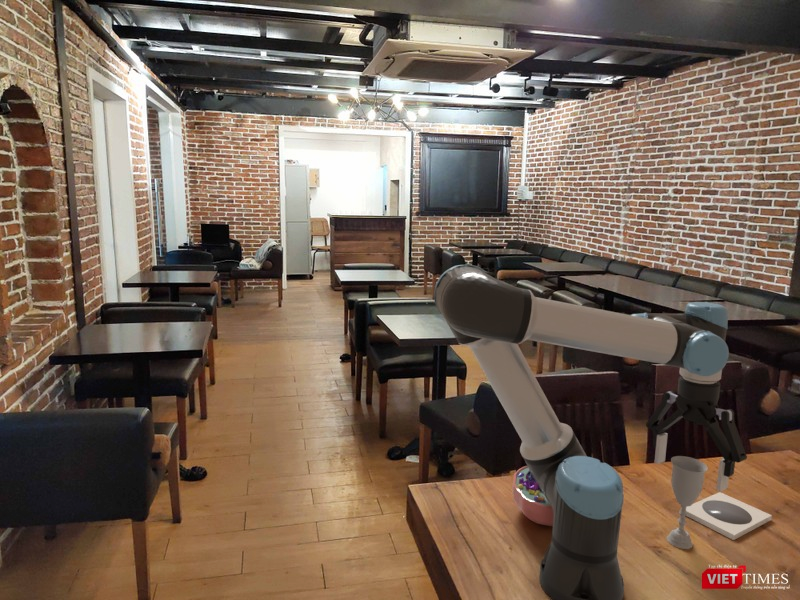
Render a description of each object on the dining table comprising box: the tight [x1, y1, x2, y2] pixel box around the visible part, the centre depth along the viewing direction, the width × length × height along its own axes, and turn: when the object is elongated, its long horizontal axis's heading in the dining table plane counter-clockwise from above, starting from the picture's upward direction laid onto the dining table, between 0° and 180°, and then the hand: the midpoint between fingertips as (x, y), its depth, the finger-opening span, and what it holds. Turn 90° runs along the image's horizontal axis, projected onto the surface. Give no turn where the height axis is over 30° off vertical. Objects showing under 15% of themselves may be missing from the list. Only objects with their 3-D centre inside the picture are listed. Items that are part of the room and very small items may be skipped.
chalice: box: [666, 455, 709, 550], centre depth 117 cm, size 7×7×18 cm
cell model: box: [512, 465, 553, 527], centre depth 126 cm, size 17×20×11 cm
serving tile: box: [685, 491, 773, 541], centre depth 129 cm, size 16×12×1 cm
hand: (689, 475), depth 116 cm, fingers open, 13 cm apart
